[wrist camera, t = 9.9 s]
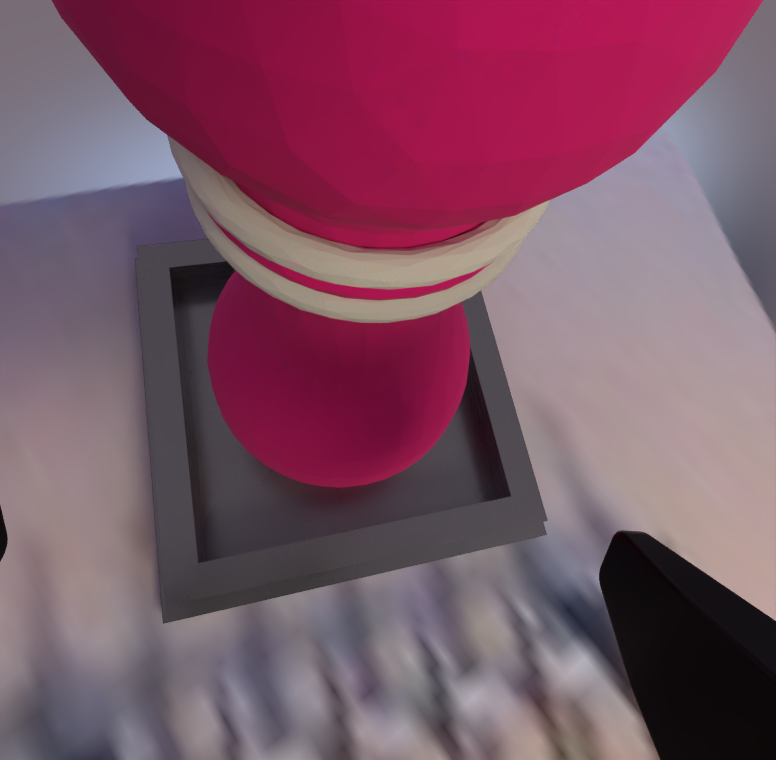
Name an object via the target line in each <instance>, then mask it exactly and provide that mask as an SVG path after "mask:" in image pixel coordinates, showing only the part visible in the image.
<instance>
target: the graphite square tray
mask: <svg viewBox="0 0 776 760" xmlns="http://www.w3.org/2000/svg"><path fill="white" fill-rule="evenodd" d="M137 251H138V258H135V265H136V278H137V291H138V304H139V317H140V330H141V343H142V356H143V369H144V382H145V395H146V408H147V422H148V435H149V448H150V461H151V474H152V487H153V500H154V513H155V526H156V539H157V552H158V565H159V578H160V591H161V604H162V617H163V623H168V622H172V621H176V620H181V619H185V618H189V617H194V616H198V615H202V614H207V613H211V612H215V611H219V610H224V609H228V608H232V607H237V606H241V605H245V604H250V603H254V602H258V601H263V600H267V599H271V598H276V597H280V596H284V595H289V594H293V593H297V592H302V591H306V590H310V589H314V588H319V587H323V586H327V585H332V584H336V583H340V582H345V581H349V580H353V579H358V578H362V577H366V576H371V575H375V574H379V573H384V572H388V571H392V570H396V569H401V568H405V567H409V566H414V565H418V564H422V563H427V562H431V561H435V560H440V559H444V558H448V557H453V556H457V555H461V554H466V553H470V552H474V551H479V550H483V549H487V548H491V547H496V546H500V545H504V544H509V543H513V542H517V541H522V540H526V539H530V538H535V537H539V536H543V535H547V533H546V530H545V526H544V523H543V522H544V521H547V517H546V514H545V510H544V507H543V503H542V500H541V496H540V493H539V489H538V486H537V483H536V479H535V476H534V472H533V469H532V465H531V462H530V458H529V455H528V451H527V448H526V445H525V441H524V438H523V434H522V431H521V427H520V424H519V420H518V417H517V413H516V410H515V407H514V403H513V400H512V396H511V393H510V389H509V386H508V382H507V379H506V375H505V372H504V369H503V365H502V362H501V358H500V355H499V351H498V348H497V344H496V341H495V337H494V334H493V331H492V327H491V324H490V320H489V317H488V313H487V310H486V306H485V303H484V299H483V296H482V293H481V290H480V291H479V292H478V293H476V294H475V295H474V296H472V297H470V298H468V299H466V300H464V301H462V305H463V309H464V312H465V315H466V319H467V322H468V327H469V335H470V358H469V367H468V375H467V383H466V387H465V390H464V393H463V396H462V399H461V402H460V404H459V406H458V408H457V410H456V412H455V414H454V416H453V418H452V420H451V421H450V423H449V425H448V426H447V428H446V430H445V431H444V433H443V434H442V435H441V437H440V438H439V439H438V441H437V442H436V443H435V445H434V446H433V447H432V448H431V449H430V450H429V451H428V452H427V453H426V454H425V455H424V456H423V457H422V458H421V459H419V460H418V461H416V462H415V463H414V464H412V465H411V466H409V467H408V468H406V469H405V470H403V471H401V472H399V473H397V474H395V475H393V476H391V477H388V478H386V479H384V480H380V481H377V482H373V483H370V484H366V485H360V486H352V487H339V488H337V487H323V486H317V485H311V484H307V483H303V482H300V481H297V480H294V479H291V478H289V477H286V476H284V475H282V474H280V473H278V472H276V471H274V470H273V469H271V468H269V467H267V466H266V465H264V464H263V463H262V462H260V461H259V460H258V459H257V458H255V457H254V456H253V455H252V454H250V453H249V452H248V451H247V450H246V449H245V448H244V446H243V445H242V444H241V443H240V442H239V441H238V440H237V439H236V437H235V436H234V435H233V433H232V432H231V430H230V428H229V427H228V425H227V423H226V422H225V420H224V419H223V416H222V414H221V411H220V409H219V406H218V404H217V401H216V398H215V395H214V392H213V389H212V384H211V379H210V374H209V369H208V364H207V356H208V340H209V330H210V326H211V321H212V316H213V312H214V310H215V307H216V304H217V301H218V298H219V295H220V294H221V292H222V290H223V288H224V287H225V285H226V283H227V281H228V280H229V278H230V277H231V275H232V274H233V273H234V272H235V269H234V268H233V267H232V266H231V265H230V264H229V263H228V262H227V261H226V260H225V259H224V258H223V257H222V256H221V254H220V253H219V252H218V251H217V250H216V249H215V248H214V246H213V245H212V243H211V242H210V241H209V239H202V240H192V241H182V242H172V243H163V244H153V245H143V246H137Z"/></svg>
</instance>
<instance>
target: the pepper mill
mask: <svg viewBox="0 0 776 760" xmlns="http://www.w3.org/2000/svg"><path fill="white" fill-rule="evenodd" d="M762 1H763V0H52V2H53V3H54V5H55V7H56V9H57V11H58V12H59V14H60V16H61V18H62V19H63V20H64V21H65V22H66V24H67V25H68V26H69V27H70V29H71V30H72V31H73V32H74V34H75V35H76V36H77V37H78V38H79V40H80V41H81V42H82V43H83V45H84V46H85V47H86V48H87V49H88V51H89V52H90V53H91V55H92V56H93V57H94V58H95V59H96V61H97V62H98V63H99V64H100V66H101V67H102V68H103V69H104V71H105V72H106V73H107V74H108V75H109V77H110V78H111V79H112V80H113V82H114V83H115V84H116V85H117V86H118V88H119V89H120V90H121V91H122V93H123V94H124V95H125V96H126V98H127V99H128V100H129V101H130V102H131V103H132V104H133V105H134V106H135V108H136V109H137V110H138V111H140V113H141V114H142V115H143V116H144V117H145V118H146V119H147V120H148V121H149V122H151V123H152V124H153V125H155V126H156V127H158V128H159V129H160V130H162V131H163V132H164V133H166V134H167V135H168V140H169V143H170V147H171V151H172V154H173V156H174V159H175V161H176V163H177V165H178V167H179V169H180V172H181V174H182V176H183V177H184V180H185V187H186V191H187V194H188V197H189V200H190V203H191V206H192V209H193V212H194V214H195V216H196V218H197V219H198V221H199V223H200V225H201V227H202V229H203V231H204V233H205V235H206V237H207V238H208V239H209V241H210V242H211V243H212V245H213V246H214V248H215V249H216V250H217V251H218V252H219V253H220V254H221V256H222V257H223V258H224V259H225V260H226V261H227V262H228V263H229V264H230V265H231V266H232V267H233V268H234V269H235V272H234V273H233V274H232V275H231V277H230V278H229V280H228V281H227V283H226V285H225V287H224V288H223V290H222V292H221V294H220V295H219V298H218V301H217V304H216V307H215V310H214V312H213V316H212V321H211V326H210V330H209V340H208V356H207V364H208V369H209V374H210V379H211V384H212V389H213V392H214V395H215V398H216V401H217V404H218V406H219V409H220V411H221V414H222V416H223V419H224V420H225V422H226V423H227V425H228V427H229V428H230V430H231V432H232V433H233V435H234V436H235V437H236V439H237V440H238V441H239V442H240V443H241V444H242V445H243V446H244V448H245V449H246V450H247V451H248V452H249V453H250V454H252V455H253V456H254V457H255V458H257V459H258V460H259V461H260V462H262V463H263V464H264V465H266V466H267V467H269V468H271V469H273V470H274V471H276V472H278V473H280V474H282V475H284V476H286V477H289V478H291V479H294V480H297V481H300V482H303V483H307V484H311V485H317V486H323V487H337V488H339V487H352V486H360V485H366V484H370V483H373V482H377V481H380V480H384V479H386V478H388V477H391V476H393V475H395V474H397V473H399V472H401V471H403V470H405V469H406V468H408V467H409V466H411V465H412V464H414V463H415V462H416V461H418V460H419V459H421V458H422V457H423V456H424V455H425V454H426V453H427V452H428V451H429V450H430V449H431V448H432V447H433V446H434V445H435V443H436V442H437V441H438V439H439V438H440V437H441V435H442V434H443V433H444V431H445V430H446V428H447V426H448V425H449V423H450V421H451V420H452V418H453V416H454V414H455V412H456V410H457V408H458V406H459V404H460V402H461V399H462V396H463V393H464V390H465V387H466V383H467V375H468V367H469V358H470V335H469V327H468V322H467V319H466V315H465V312H464V309H463V305H462V301H464V300H466V299H468V298H470V297H472V296H474V295H475V294H476V293H478V292H479V291H480V290H482V289H483V288H485V287H486V286H487V285H489V284H490V283H491V282H493V281H494V280H495V279H496V278H497V276H498V275H499V274H500V273H501V272H502V271H503V270H504V269H505V268H506V267H507V266H508V264H509V263H510V262H511V261H512V260H513V258H514V257H515V255H516V253H517V252H518V250H519V249H520V247H521V245H522V243H523V241H524V239H525V237H526V235H527V234H528V233H529V232H530V230H531V229H532V228H533V227H534V226H535V225H536V224H537V222H538V221H539V219H540V218H541V216H542V215H543V213H544V212H545V210H546V208H547V206H548V204H549V202H550V200H551V199H553V198H555V197H557V196H560V195H562V194H564V193H566V192H569V191H571V190H573V189H575V188H577V187H580V186H582V185H584V184H586V183H588V182H590V181H591V180H593V179H594V178H596V177H598V176H599V175H601V174H602V173H604V172H605V171H607V170H609V169H610V168H612V167H613V166H615V165H617V164H618V163H620V162H621V161H623V160H624V159H626V158H628V157H629V156H631V155H632V154H634V153H635V152H636V151H637V150H638V149H639V148H640V147H641V146H642V145H643V144H644V143H645V142H646V141H647V140H648V139H649V138H650V137H651V136H652V135H653V134H654V133H655V132H656V131H657V130H658V129H659V128H660V127H661V126H662V125H663V124H664V123H665V122H666V121H667V120H668V119H669V118H670V117H671V116H672V115H673V114H674V113H675V112H676V111H677V110H678V109H679V108H680V107H681V106H682V105H683V104H684V103H685V102H686V101H687V100H688V99H689V98H690V97H691V96H692V95H693V94H694V93H695V92H696V91H697V90H698V89H699V88H700V87H701V86H702V85H703V84H704V83H705V82H706V81H707V80H708V79H709V78H710V77H711V76H712V75H713V74H714V73H715V72H716V71H717V69H718V68H719V66H720V65H721V63H722V61H723V60H724V59H725V57H726V56H727V54H728V52H729V51H730V50H731V48H732V47H733V45H734V43H735V42H736V40H737V39H738V38H739V36H740V34H741V33H742V31H743V30H744V28H745V27H746V25H747V24H748V22H749V21H750V19H751V18H752V16H753V15H754V13H755V12H756V10H757V9H758V7H759V6H760V4H761V3H762Z"/></svg>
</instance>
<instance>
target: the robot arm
mask: <svg viewBox="0 0 776 760" xmlns="http://www.w3.org/2000/svg"><path fill="white" fill-rule="evenodd" d="M7 539H8V538H7V531H6V527H5V523H4V519H3V515H2V510H1V506H0V561H1V559H2V557H3V555H4V553H5V550H6V547H7ZM599 581H600V586H601V590H602V593H603V597H604V600H605V603H606V607H607V610H608V613H609V617H610V620H611V623H612V627H613V630H614V634H615V637H616V640H617V644H618V647H619V650H620V654H621V657H622V660H623V664H624V667H625V670H626V673H627V676H628V679H629V682H630V685H631V688H632V690H633V693H634V695H635V698H636V701H637V703H638V706H639V708H640V711H641V713H642V716H643V718H644V721H645V723H646V725H647V728H648V730H649V733H650V735H651V738H652V740H653V743H654V745H655V748H656V750H657V753H658V755H659V758H660V760H776V621H775V620H773V619H772V618H770V617H769V616H768V615H766V614H765V613H763V612H762V611H760V610H759V609H757V608H756V607H754V606H753V605H751V604H750V603H748V602H747V601H745V600H744V599H743V598H741V597H740V596H738V595H737V594H735V593H734V592H732V591H731V590H729V589H728V588H726V587H725V586H723V585H722V584H720V583H719V582H718V581H716V580H715V579H713V578H712V577H710V576H709V575H707V574H706V573H704V572H703V571H701V570H700V569H698V568H697V567H696V566H694V565H693V564H691V563H690V562H688V561H687V560H685V559H684V558H682V557H681V556H679V555H678V554H676V553H675V552H673V551H672V550H671V549H669V548H668V547H666V546H665V545H663V544H662V543H660V542H659V541H657V540H656V539H654V538H653V537H651V536H650V535H648V534H647V533H644V532H640V531H624V530H622V531H618V532H617V533H616V534H615V535H614V536H613V538H612V540H611V543H610V545H609V548H608V550H607V553H606V555H605V558H604V560H603V563H602V565H601V568H600V572H599Z"/></svg>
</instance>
